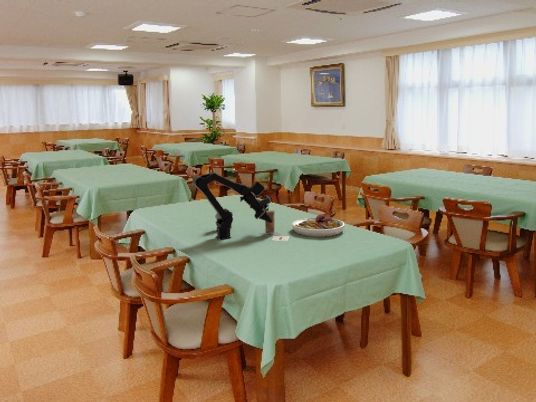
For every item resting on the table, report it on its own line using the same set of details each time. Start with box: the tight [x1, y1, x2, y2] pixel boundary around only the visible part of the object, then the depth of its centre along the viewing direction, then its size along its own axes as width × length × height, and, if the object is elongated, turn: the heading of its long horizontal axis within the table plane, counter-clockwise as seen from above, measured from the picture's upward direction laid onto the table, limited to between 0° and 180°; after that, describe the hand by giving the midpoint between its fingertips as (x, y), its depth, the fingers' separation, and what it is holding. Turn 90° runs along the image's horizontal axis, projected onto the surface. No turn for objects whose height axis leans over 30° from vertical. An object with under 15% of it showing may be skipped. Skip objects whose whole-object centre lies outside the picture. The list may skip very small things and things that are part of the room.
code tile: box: [271, 235, 290, 242], centre depth 269 cm, size 9×9×1 cm
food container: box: [214, 211, 234, 230], centre depth 292 cm, size 12×6×10 cm, turn 141°
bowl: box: [291, 213, 345, 238], centre depth 284 cm, size 30×30×8 cm
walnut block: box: [264, 210, 276, 233], centre depth 277 cm, size 5×5×12 cm
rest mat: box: [259, 231, 282, 238], centre depth 278 cm, size 9×9×1 cm
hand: (272, 221), depth 277 cm, fingers closed on walnut block, 5 cm apart
